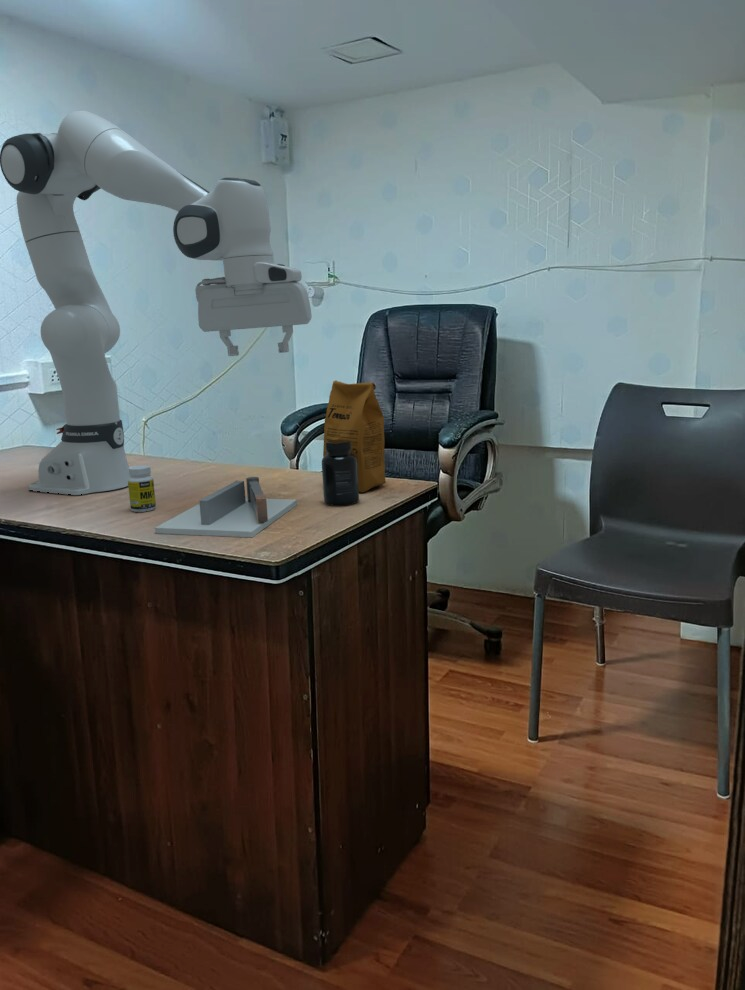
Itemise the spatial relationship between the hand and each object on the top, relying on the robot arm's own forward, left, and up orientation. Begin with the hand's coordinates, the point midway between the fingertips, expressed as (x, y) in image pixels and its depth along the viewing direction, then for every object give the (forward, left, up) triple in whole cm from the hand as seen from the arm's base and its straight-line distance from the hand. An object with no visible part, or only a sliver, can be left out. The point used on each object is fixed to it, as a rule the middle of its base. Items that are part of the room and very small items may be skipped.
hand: (258, 354), depth 144 cm
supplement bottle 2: (+12, +7, -29) cm, 32 cm away
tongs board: (-5, -7, -29) cm, 30 cm away
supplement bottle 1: (-25, -3, -29) cm, 39 cm away
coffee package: (+11, +20, -29) cm, 37 cm away
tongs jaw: (0, -6, -28) cm, 28 cm away
